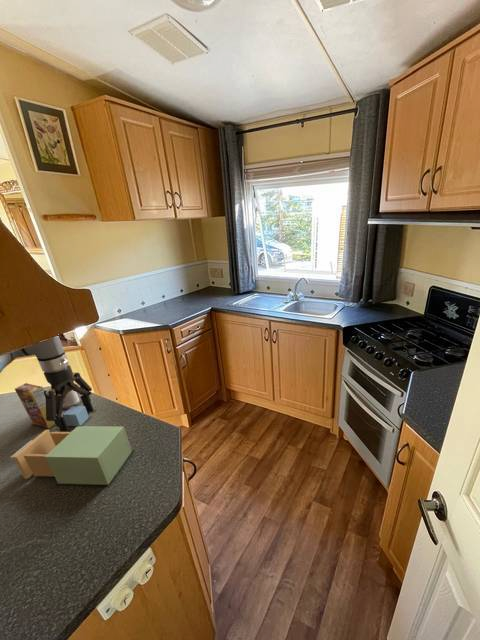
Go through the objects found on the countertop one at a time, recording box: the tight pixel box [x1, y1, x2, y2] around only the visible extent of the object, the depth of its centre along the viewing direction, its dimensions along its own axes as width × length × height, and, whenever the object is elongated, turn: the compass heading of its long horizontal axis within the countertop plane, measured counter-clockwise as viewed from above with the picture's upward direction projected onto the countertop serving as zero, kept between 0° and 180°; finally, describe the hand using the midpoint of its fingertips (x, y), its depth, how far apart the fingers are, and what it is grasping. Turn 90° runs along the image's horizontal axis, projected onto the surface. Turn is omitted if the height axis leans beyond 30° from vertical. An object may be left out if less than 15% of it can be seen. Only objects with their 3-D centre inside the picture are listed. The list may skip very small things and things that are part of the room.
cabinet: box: [45, 425, 133, 486], centre depth 82 cm, size 15×13×10 cm
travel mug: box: [58, 390, 81, 410], centre depth 112 cm, size 6×7×20 cm
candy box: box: [14, 382, 56, 429], centre depth 102 cm, size 9×4×15 cm, turn 69°
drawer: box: [8, 429, 72, 480], centre depth 83 cm, size 18×11×8 cm, turn 86°
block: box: [61, 405, 90, 427], centre depth 104 cm, size 5×5×5 cm
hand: (78, 421), depth 105 cm, fingers open, 12 cm apart
